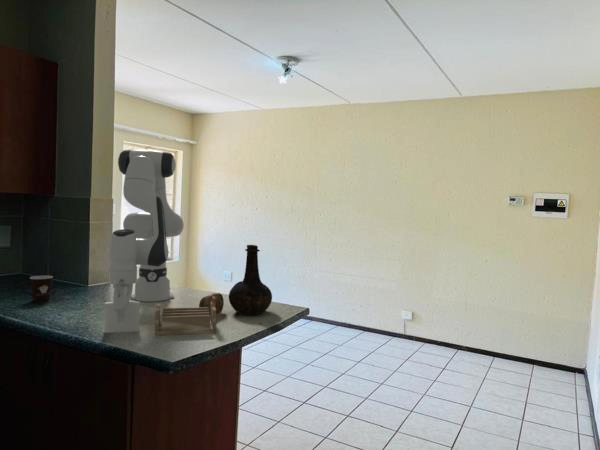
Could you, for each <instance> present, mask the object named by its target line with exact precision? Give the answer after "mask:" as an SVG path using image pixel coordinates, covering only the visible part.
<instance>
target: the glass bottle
mask: <svg viewBox="0 0 600 450" xmlns="http://www.w3.org/2000/svg"><path fill="white" fill-rule="evenodd" d="M258 248H259V246H257V244H247V245H246V248H245V252H246V261H245V270H244V276H243V280H241V281H238V282H236V283H235V284H234V285H233V287H232V288H231V289H230V290H229V292H228V300H229V305H230V306H231V308H233V309H234V311H235V312H237V313H238V314H240V315H244V316H256V315H259V314H262V313H264V312H266V311H267V310H268V309H269V307H270V306H271V304H272V300H273V294H272V291H271V289H270V288H269V287H268V286H267V285H266V284H265V283H263V282H262V280H261V277H260V271H259V261H258V260H259V257H258V252H260V251H261V250H260V249H258Z"/></svg>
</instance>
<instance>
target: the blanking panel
mask: <svg viewBox="0 0 600 450" xmlns="http://www.w3.org/2000/svg"><path fill="white" fill-rule="evenodd" d="M140 313H141V301H138V300H136V301H129V302H128V305H127V307H126V309H125V310H124V321H123V322H118V316H117V311H114V310H113V301H106V302H104V333H106V334H107V333H129V332H131V333H134V332H140V331H141V330H140V328H141V327H140V326H141V325H140V323H141V321H140V319H141V318H140V317H141V315H140Z"/></svg>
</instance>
